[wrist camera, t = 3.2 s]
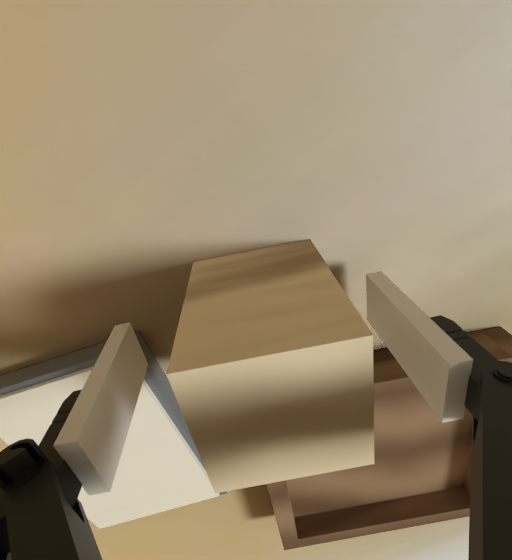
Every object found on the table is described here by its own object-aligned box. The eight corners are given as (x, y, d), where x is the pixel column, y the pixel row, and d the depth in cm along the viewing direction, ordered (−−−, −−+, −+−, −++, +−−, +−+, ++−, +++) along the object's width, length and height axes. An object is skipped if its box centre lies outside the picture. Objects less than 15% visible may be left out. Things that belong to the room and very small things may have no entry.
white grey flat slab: (-22, 382, 19) (-44, 406, 17) (137, 330, 18) (129, 350, 16) (105, 507, 25) (97, 533, 24) (226, 473, 24) (226, 497, 23)
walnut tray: (243, 375, 20) (245, 408, 18) (500, 326, 20) (534, 353, 18) (280, 514, 27) (284, 550, 25) (467, 480, 27) (488, 512, 25)
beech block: (193, 261, 16) (166, 374, 9) (310, 239, 16) (372, 334, 9) (220, 352, 19) (215, 493, 12) (319, 333, 19) (374, 464, 12)
